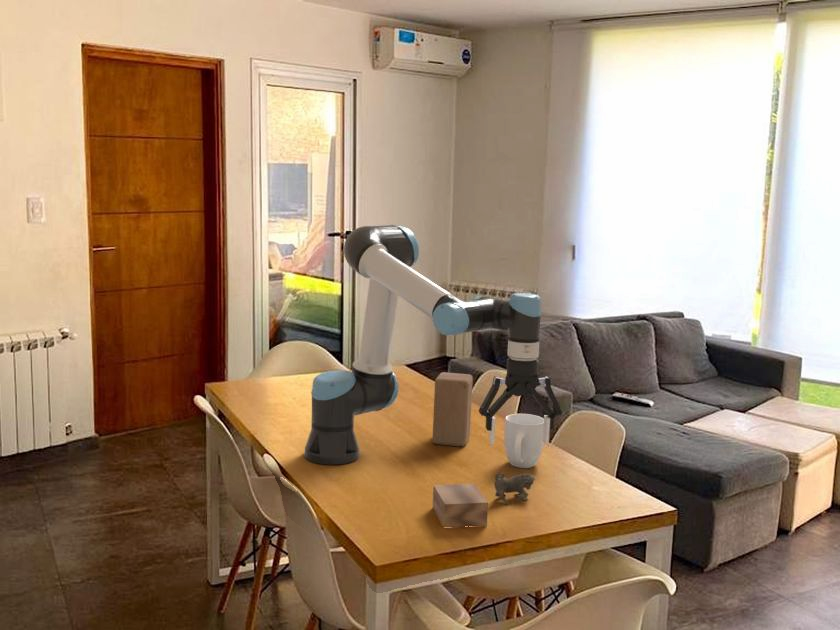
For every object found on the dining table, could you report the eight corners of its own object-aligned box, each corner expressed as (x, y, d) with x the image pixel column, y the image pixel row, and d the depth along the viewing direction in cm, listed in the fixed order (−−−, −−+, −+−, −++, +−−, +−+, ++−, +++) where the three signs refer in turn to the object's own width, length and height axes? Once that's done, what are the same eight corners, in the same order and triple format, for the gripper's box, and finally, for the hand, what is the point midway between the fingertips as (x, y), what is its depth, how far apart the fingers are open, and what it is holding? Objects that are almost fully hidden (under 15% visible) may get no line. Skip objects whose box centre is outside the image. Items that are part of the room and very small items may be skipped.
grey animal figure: (501, 506, 207) (502, 477, 206) (488, 498, 212) (489, 469, 211) (541, 499, 213) (543, 470, 211) (528, 491, 218) (529, 463, 216)
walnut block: (444, 529, 193) (445, 504, 192) (432, 509, 204) (433, 485, 203) (486, 527, 195) (488, 502, 194) (473, 507, 206) (474, 483, 205)
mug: (536, 478, 227) (539, 430, 225) (495, 472, 231) (498, 425, 229) (545, 461, 242) (548, 416, 239) (507, 455, 245) (509, 411, 243)
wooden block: (465, 448, 250) (468, 381, 247) (431, 444, 252) (434, 378, 249) (470, 438, 260) (473, 373, 257) (437, 434, 262) (440, 371, 259)
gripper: (475, 361, 201) (471, 448, 204) (577, 361, 205) (572, 446, 208) (469, 354, 209) (465, 438, 212) (568, 354, 212) (563, 437, 215)
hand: (518, 442), depth 210 cm, fingers open, 13 cm apart
